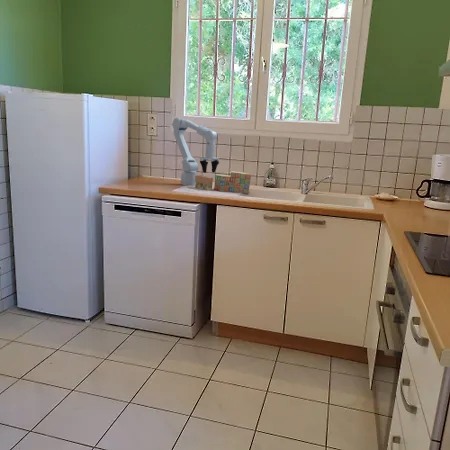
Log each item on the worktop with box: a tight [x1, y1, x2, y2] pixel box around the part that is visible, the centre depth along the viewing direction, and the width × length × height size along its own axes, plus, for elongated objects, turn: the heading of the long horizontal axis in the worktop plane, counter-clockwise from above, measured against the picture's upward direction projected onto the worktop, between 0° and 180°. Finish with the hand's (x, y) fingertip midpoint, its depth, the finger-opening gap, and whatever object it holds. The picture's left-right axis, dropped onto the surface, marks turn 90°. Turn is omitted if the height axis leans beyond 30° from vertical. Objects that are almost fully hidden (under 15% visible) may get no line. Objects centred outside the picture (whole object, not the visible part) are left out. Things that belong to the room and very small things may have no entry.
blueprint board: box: [180, 186, 204, 192], centre depth 264 cm, size 16×24×1 cm, turn 136°
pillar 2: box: [202, 183, 213, 191], centre depth 264 cm, size 4×4×4 cm
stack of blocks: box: [213, 170, 252, 195], centre depth 264 cm, size 21×6×12 cm, turn 85°
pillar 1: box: [194, 182, 203, 189], centre depth 269 cm, size 4×4×4 cm
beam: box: [195, 174, 214, 185], centre depth 266 cm, size 12×4×4 cm, turn 46°
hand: (209, 172), depth 270 cm, fingers open, 7 cm apart
